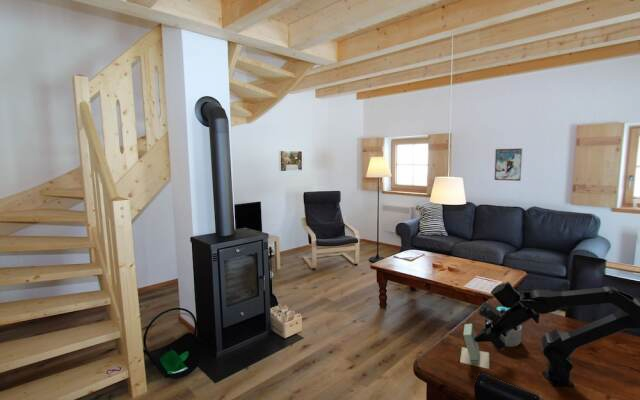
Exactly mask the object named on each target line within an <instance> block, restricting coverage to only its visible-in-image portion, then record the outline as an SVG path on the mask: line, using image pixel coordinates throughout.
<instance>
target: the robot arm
mask: <svg viewBox="0 0 640 400" xmlns="http://www.w3.org/2000/svg"><path fill="white" fill-rule="evenodd" d="M490 294H491V295H492V297H494V298H495V300H497V302H499V304H500V305H501V307H506V308H509V309H507V310H505V309H502V310H500V311H499V310H497V307H494V305H493V306H492V305H491V304H489V303H488V302H485V301H483V303H482V304H480V307H479V308H478V314H479V315H480V316H481V317H484V318H485V319H484V327H482V328H481V330H480V331H479V333H477V335H475V336H476V337H475V338H474V340H475V342H477V343H487V342H488V343H492V345H493V346H494V347H495V348H496V349H497V350H498V351H500V352H501V351H503V350H505V349H506V346H505V339H504V338H503V336H504V337H506V336H507V333H508V332H509V331H511V330H513V329H514V330H515V331H516V330H518V326H519V325H521V326H522V325H523V324H524V323H526V322H528V321H530V320H531V319H532V320H533V321H534V322H535V323H536V324H539V323H540V321H539V320H540V317H541V315H545V314H550V313H553V312H557V311H559V310H561V309H563V308H569V307H579V306H580V307H581V306H583V307H584V306H592V305H603V304H605V305H606V304H613V305H614V306H616V307H617V310H615V311H614V313H612V314H610V315H607V316H604V317H602V318H600V319H597V320H594V321H592V322H590V323H588V324H584V325H582V326H580V327H578V328H574V329H573V330H570V331H567V332H559V329H558V328H556V329H553V330H551V331H550V332H549V331H548V332H544V335H543V336H542V337H541V339H540V345H541V350H542V353H543V355H544V357H545V358H546V359H547V362H546V363H547V364H546V371H544V370H543V371H541V374H542V376H544V377H545V379H546V380H547V381H548V382H549V383H550V384H551V385H552V386H554V387H555V386H556V387H575V383H574V382H573V381H572V380H571V379H570V377H571V376H570V375H571V371H572V369H573V368H574V365H573V362H572V360H571V359H572V358H571V355H572V354H573V353H574V352H575V351H576V349H578V348H581V347H584V346H586V345H588V344H591V343H593V342H596V341H599V340H601V339H605V338H606V337H610V336H612V335H614V334H617V333H619V332H623V331H625V330H640V298H639V297H634V296H632V295H630V294H629V293H626V292H623V291H622V290H620V289H617V288H616V287H614V286H611V285H606V286H603V287H601V286H600V287H595V288H594V287H593V288H584V289H575V290H565V291H555V290H549V289H534V290H531V291H525V290H524V291H522V290H521V291H517V290H516V289H515V288H514V287H513V285H512V284H511V282H509V281H507V282H503V283H499V284H497V285H496V286H495V287H494V288H493V289H492V290H491V291H490ZM501 334H502V335H503V336H502V335H501Z"/></svg>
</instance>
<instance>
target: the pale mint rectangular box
mask: <svg viewBox="0 0 640 400" xmlns="http://www.w3.org/2000/svg"><path fill="white" fill-rule="evenodd" d="M462 335H463V339H464V342H465V345H466V348H467V350H468V353H469V357H470V361H471V363H479V351H480V347H479V342H475V340H474V338H475V337H476V336H477V335H476V332H475V329H474V326H473V323H465V324H464V328H463V334H462Z"/></svg>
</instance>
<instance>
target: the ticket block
mask: <svg viewBox="0 0 640 400" xmlns="http://www.w3.org/2000/svg"><path fill="white" fill-rule="evenodd" d="M460 351H461V352H460V353H461V354H460V359H459V361H460V362H459V363H461V364H466V365H471V366H475V367H479V368H484V369H488V370H489V369H490V352H487V351H482V350H479V363H471V361H470V357H469V353H468V350H467V347H463V346H462V347H461V350H460Z"/></svg>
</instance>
